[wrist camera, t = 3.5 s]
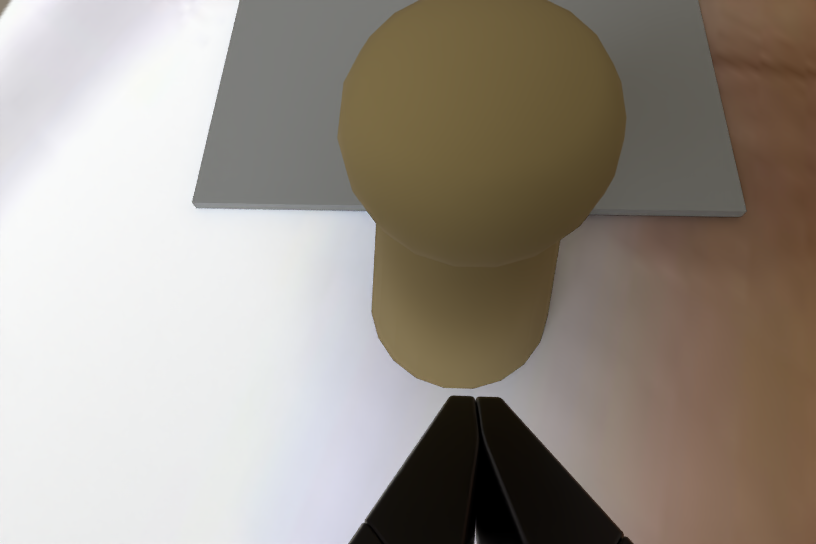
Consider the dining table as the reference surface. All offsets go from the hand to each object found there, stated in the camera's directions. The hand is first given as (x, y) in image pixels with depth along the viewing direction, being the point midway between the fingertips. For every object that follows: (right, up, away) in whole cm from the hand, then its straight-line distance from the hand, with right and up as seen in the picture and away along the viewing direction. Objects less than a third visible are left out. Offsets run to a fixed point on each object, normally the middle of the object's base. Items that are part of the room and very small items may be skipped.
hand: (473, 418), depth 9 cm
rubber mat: (+1, +12, +14) cm, 19 cm away
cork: (+1, +1, +10) cm, 10 cm away
